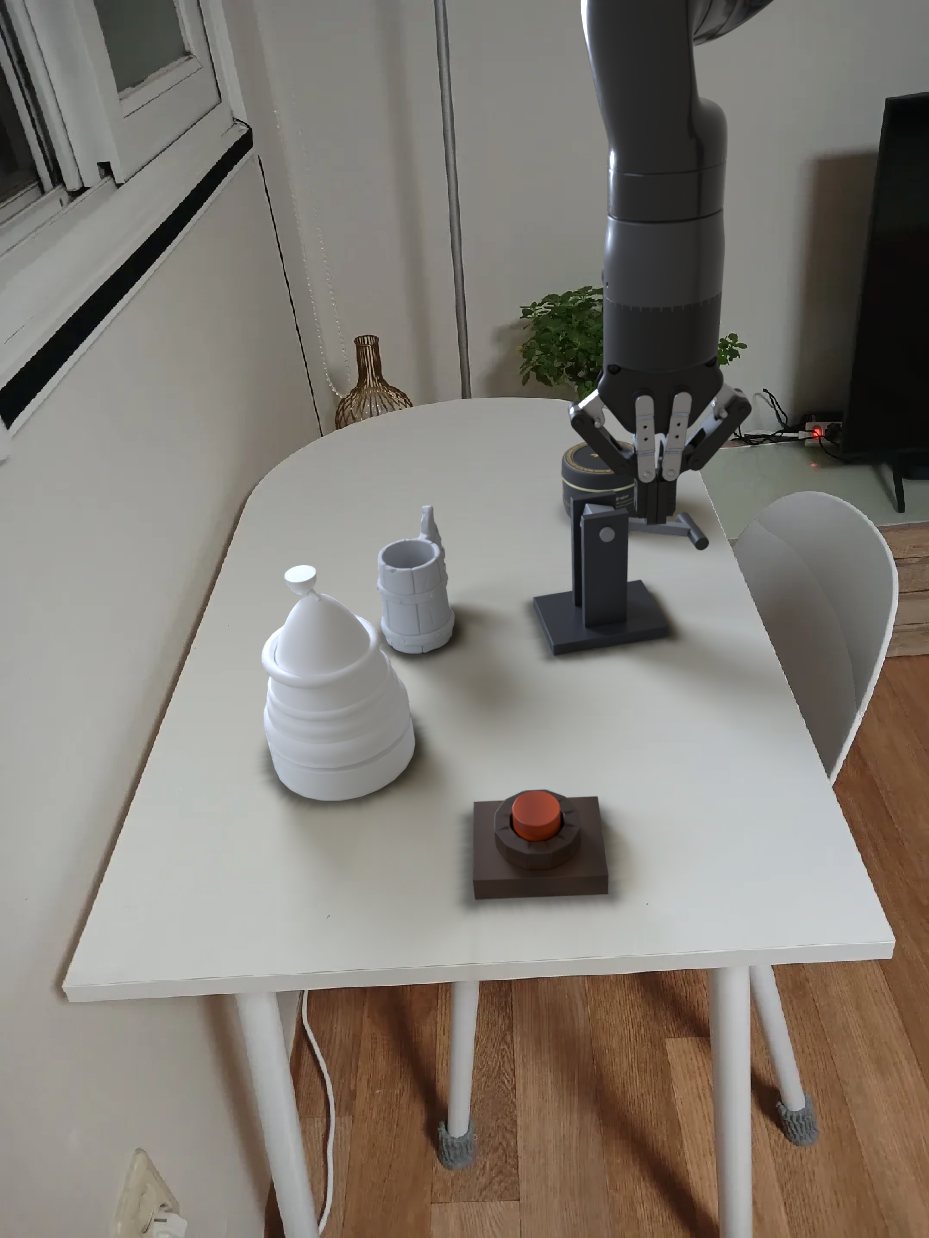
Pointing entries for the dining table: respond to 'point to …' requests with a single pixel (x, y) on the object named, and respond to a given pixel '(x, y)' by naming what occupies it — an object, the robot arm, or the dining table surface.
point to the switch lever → (661, 526)
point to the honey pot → (333, 700)
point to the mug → (415, 590)
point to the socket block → (539, 852)
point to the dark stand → (599, 586)
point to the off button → (536, 816)
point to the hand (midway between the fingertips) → (654, 519)
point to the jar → (594, 477)
